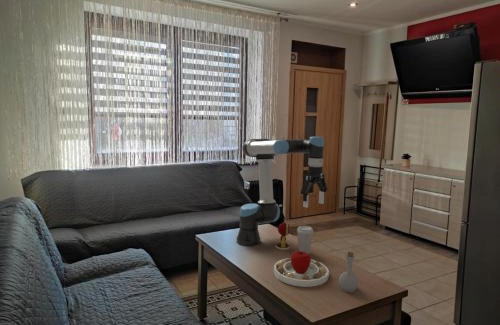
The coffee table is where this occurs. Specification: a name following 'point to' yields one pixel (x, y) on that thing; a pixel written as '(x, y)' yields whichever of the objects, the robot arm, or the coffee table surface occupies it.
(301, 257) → the apple
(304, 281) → the bead tray
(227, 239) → the coffee table surface
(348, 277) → the potion bottle
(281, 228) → the figurine
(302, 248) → the coffee cup
